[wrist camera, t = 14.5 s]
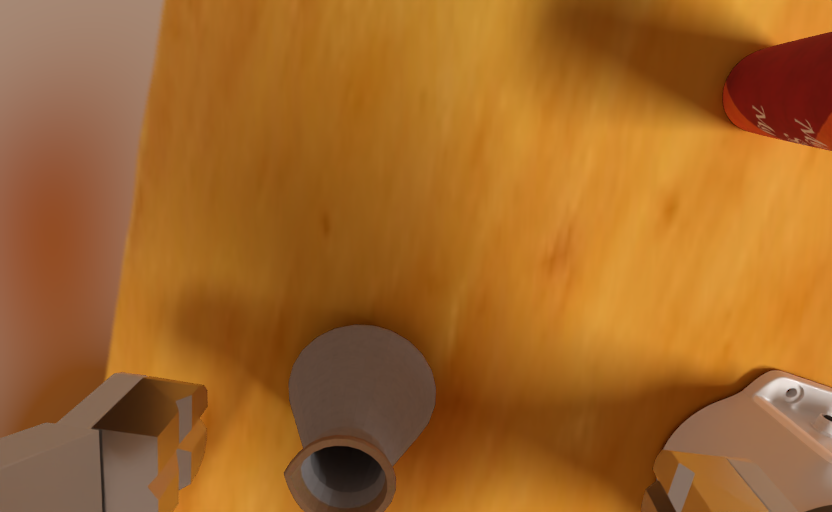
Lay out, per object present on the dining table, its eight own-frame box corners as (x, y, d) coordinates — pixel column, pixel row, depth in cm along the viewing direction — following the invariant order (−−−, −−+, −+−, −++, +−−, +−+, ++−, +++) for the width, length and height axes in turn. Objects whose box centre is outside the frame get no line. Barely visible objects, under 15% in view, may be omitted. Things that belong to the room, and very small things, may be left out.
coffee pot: (305, 299, 42) (240, 406, 27) (447, 323, 42) (457, 441, 28) (280, 514, 48) (216, 692, 34) (404, 533, 48) (393, 718, 34)
